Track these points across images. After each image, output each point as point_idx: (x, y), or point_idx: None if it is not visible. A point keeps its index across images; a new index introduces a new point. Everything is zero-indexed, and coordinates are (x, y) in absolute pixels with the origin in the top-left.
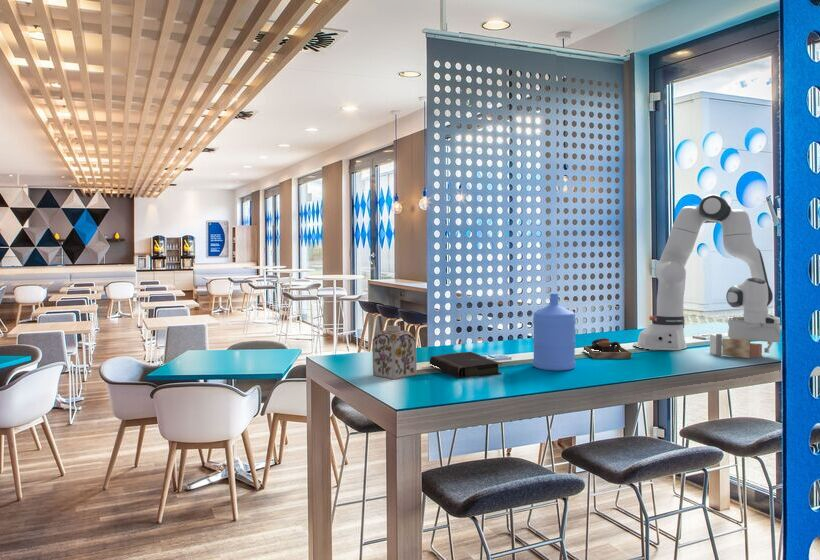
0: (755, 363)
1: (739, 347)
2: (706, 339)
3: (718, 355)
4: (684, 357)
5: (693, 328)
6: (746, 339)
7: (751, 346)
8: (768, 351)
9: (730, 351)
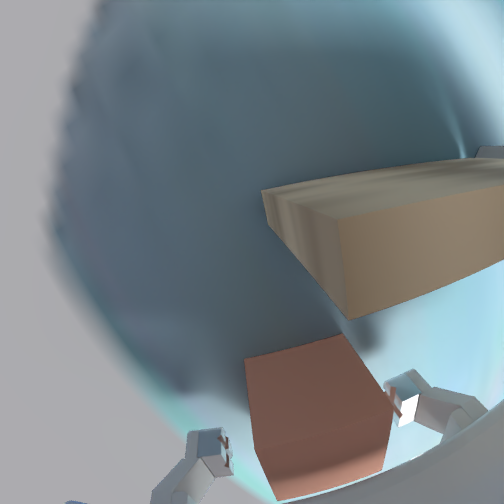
0: (109, 28)
1: (419, 174)
2: None
3: (481, 150)
4: (499, 3)
5: None
6: (430, 452)
7: (339, 409)
8: (190, 440)
9: (454, 162)
